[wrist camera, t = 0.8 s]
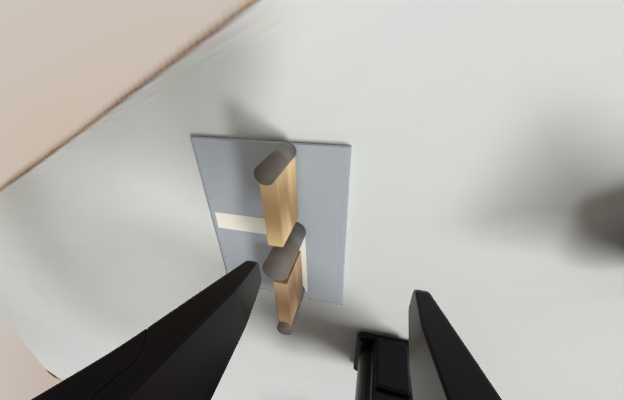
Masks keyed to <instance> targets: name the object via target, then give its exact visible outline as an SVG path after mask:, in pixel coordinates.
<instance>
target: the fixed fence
mask: <svg viewBox="0 0 624 400" xmlns="http://www.w3.org/2000/svg"><path fill="white" fill-rule="evenodd" d="M305 235H306V229H305V227H304V226H303V225H302V224H300V223H299V222H296V223H295V225H294V227H293V229H292V231H291V233H290V235H289V237H288V239H287V240H286V242H285V244H284V246H283V247H278V246H273V248H272V250H271V251H270V253H269V255H268V257H267V259H266V260H265V262H264V264H263V266H262V269H263V272H264V273H265V274H266V276H268V277H269V278H271V279H273V280H274V289H275V296H276V303H277V311H278V318H279V324H278V327H277V330H278V331H279V332H280V333H282V334H284V335H290V334H291V332H292V329H293V326H294V323H295V320H296V317H297V314H298V311H299V308H300V305H301V302H302V299H303V296H304V293H305V288H304V287H303V282H302V264H301V251H299V249H300V247H301V245H302V242H303V240H304V237H305Z"/></svg>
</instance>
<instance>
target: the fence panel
mask: <svg viewBox="0 0 624 400" xmlns="http://www.w3.org/2000/svg"><path fill="white" fill-rule="evenodd" d="M295 156H296V148H295V146H294V145H293V144H292V143H290V142H283V143H281V144H280V145H279V146H278V147H277V148H276V149H275V150H274V151H273V152H272V153H271V154H270V155H268V156H267V157H266V158H265V159H264V160H263V161H262V162H261V163H260V164H259V165H258V166H257V167H256V168H255V169H254V177H255V179H256V180H257V181H258V182H259V183H260V190H261V197H262V204H263V211H264V219H265V226H266V233H267V240H268V245H271V246H278V247H283V246H284V244H285V242H286V240H287V239H288V237H289V235H290V233H291V231H292V229H293V227H294V225H295V223H296V221H297V219H298V217H299V212H298V195H297V177H296V160H295Z"/></svg>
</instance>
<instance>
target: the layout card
mask: <svg viewBox="0 0 624 400" xmlns="http://www.w3.org/2000/svg"><path fill="white" fill-rule="evenodd" d="M191 139H192V143H193V147H194V151H195V154H196V158H197V162H198V165H199V169H200V173H201V177H202V180H203V184H204V188H205V192H206V195H207V199H208V203H209V207H210V210H211V214H212V218H213V222H214V225H215V229H216V233H217V236H218V240H219V244H220V248H221V251H222V255H223V259H224V263H225V266H226V270H227V273H229V272H230V271H232V270H233V269H235V268H236V267H238V266H239V265H241V264H242V263H244V262H245V261H248V260H249V261H255V262H258V263H259V267H260V272H261V285H260V288H259V289H264V290H269V291H274V292H275V289H274V280H273V279H271V278H269V277H268V276H266V274H265V273H264V272H263V269H262V266H263V264H264V262H265V260H266V259H267V257H268V255H269V253H270V251H271V250H272V248H273V246H271V245H268V240H267V233H266V226H265V219H264V211H263V204H262V197H261V190H260V183H259V182H258V181H257V180H256V179H255V177H254V169H255V168H256V167H257V166H258V165H259V164H260V163H261V162H262V161H263V160H264V159H265V158H266V157H267V156H268V155H270V154H271V153H272V152H273V151H274V150H275V149H276V148H277V147H278V146H279V145H280V144H281V143H283V142H280V141H263V140H247V139H230V138H214V137H197V136H194V137H192V138H191ZM290 143H292V144H293V145H294V146H295V148H296V156H295V160H296V177H297V195H298V212H299V217H298V219H297V221H296V222H299V223H300V224H302V225H303V226H304V227H305V229H306V235H305V237H304V240H303V242H302V245H301V247H300V249H299V251H301V264H302V282H303V287H304V288H305V293H304V296H303V297H305V298H310V299H315V300H320V301H325V302H330V303H335V304H342V293H343V276H344V259H345V243H346V226H347V209H348V193H349V176H350V159H351V146H346V145H329V144H313V143H296V142H290Z"/></svg>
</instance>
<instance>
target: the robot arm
mask: <svg viewBox="0 0 624 400" xmlns="http://www.w3.org/2000/svg"><path fill="white" fill-rule="evenodd" d="M260 285H261V272H260V267H259V263H258V262H255V261H249V260H248V261H245V262H244V263H242V264H241V265H239V266H238V267H236V268H235V269H233V270H232V271H230V272H229V273H227V274H226V275H224V276H223V277H222V278H220V279H219V280H217V281H216V282H214V283H213V284H211V285H210V286H208V287H207V288H205V289H204V290H202V291H201V292H199V293H198V294H197V295H195V296H194V297H192V298H191V299H189V300H188V301H186V302H185V303H183V304H182V305H180V306H179V307H177V308H176V309H175V310H173V311H172V312H170V313H169V314H167V315H166V316H164V317H163V318H161V319H160V320H158V321H157V322H155V323H154V324H152V325H151V326H150V327H148V329H145V330H144V331H142V332H141V333H139V334H138V335H136V336H135V337H133V338H132V339H130V340H129V341H127V342H126V343H124V344H123V345H121V346H120V347H118V348H116V349H115V350H113V351H112V352H110V353H109V354H107V355H105V356H104V357H102V358H100V359H99V360H97V361H96V362H94V363H92V364H91V365H89V366H87V367H86V368H84V369H82V370H81V371H79V372H77V373H75V374H74V375H72V376H70V377H69V378H67V379H65V380H64V381H62V382H60V383H59V384H57V385H55V386H54V387H52V388H50V389H48V390H47V391H45V392H44V393H42V394H40V395H38V396H37V397H35V398H33V399H32V400H211V398H212V396H213V394H214V392H215V390H216V388H217V386H218V384H219V382H220V379H221V377H222V375H223V373H224V371H225V369H226V367H227V365H228V363H229V361H230V359H231V356H232V354H233V352H234V350H235V348H236V346H237V344H238V342H239V340H240V338H241V336H242V333H243V331H244V329H245V327H246V324H247V322H248V319H249V316H250V313H251V311H252V308H253V305H254V302H255V299H256V297H257V294H258V291H259V288H260ZM354 369H355V370H356V371H358V373H357V384H356V395H355V400H502V399H501V398H500V396H499V395H498V393H497V392H496V390H495V389H494V387H493V386H492V384H491V383H490V381H489V380H488V379H487V377H486V376H485V374H484V373H483V371H482V370H481V368H480V367H479V365H478V364H477V362H476V361H475V359H474V358H473V356H472V355H471V353H470V352H469V350H468V349H467V348H466V346H465V345H464V343H463V342H462V340H461V339H460V337H459V336H458V334H457V333H456V331H455V330H454V328H453V327H452V325H451V324H450V322H449V321H448V319H447V318H446V317H445V315H444V314H443V312H442V311H441V309H440V308H439V306H438V305H437V303H436V302H435V300H434V299H433V297H432V296H431V294H430V293H429V292H427V291H422V290H414V291H413V294H412V298H411V302H410V306H409V343H408V342H403V341H399V340H394V339H389V338H385V337H380V336H376V335H371V334H366V333H358V334H357V342H356V351H355V359H354Z"/></svg>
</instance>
